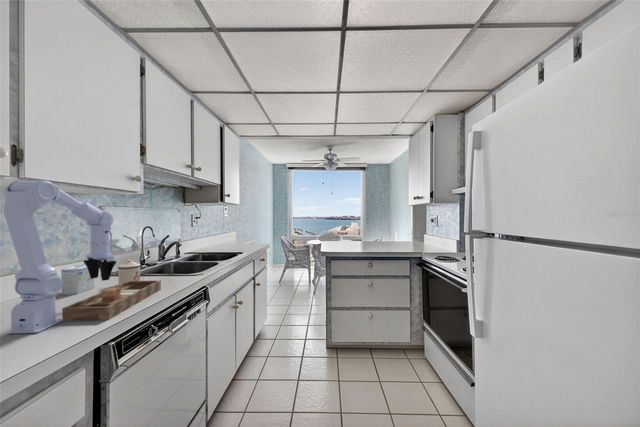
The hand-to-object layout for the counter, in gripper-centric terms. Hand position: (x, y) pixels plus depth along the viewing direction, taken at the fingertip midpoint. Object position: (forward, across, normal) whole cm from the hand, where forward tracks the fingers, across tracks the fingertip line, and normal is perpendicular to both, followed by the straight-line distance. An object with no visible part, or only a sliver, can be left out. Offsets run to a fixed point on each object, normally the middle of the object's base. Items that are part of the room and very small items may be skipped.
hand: (99, 279), depth 109 cm
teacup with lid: (+9, +21, -24) cm, 33 cm away
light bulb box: (+10, +28, -6) cm, 30 cm away
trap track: (+9, -5, -4) cm, 12 cm away
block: (+7, -8, 0) cm, 10 cm away
